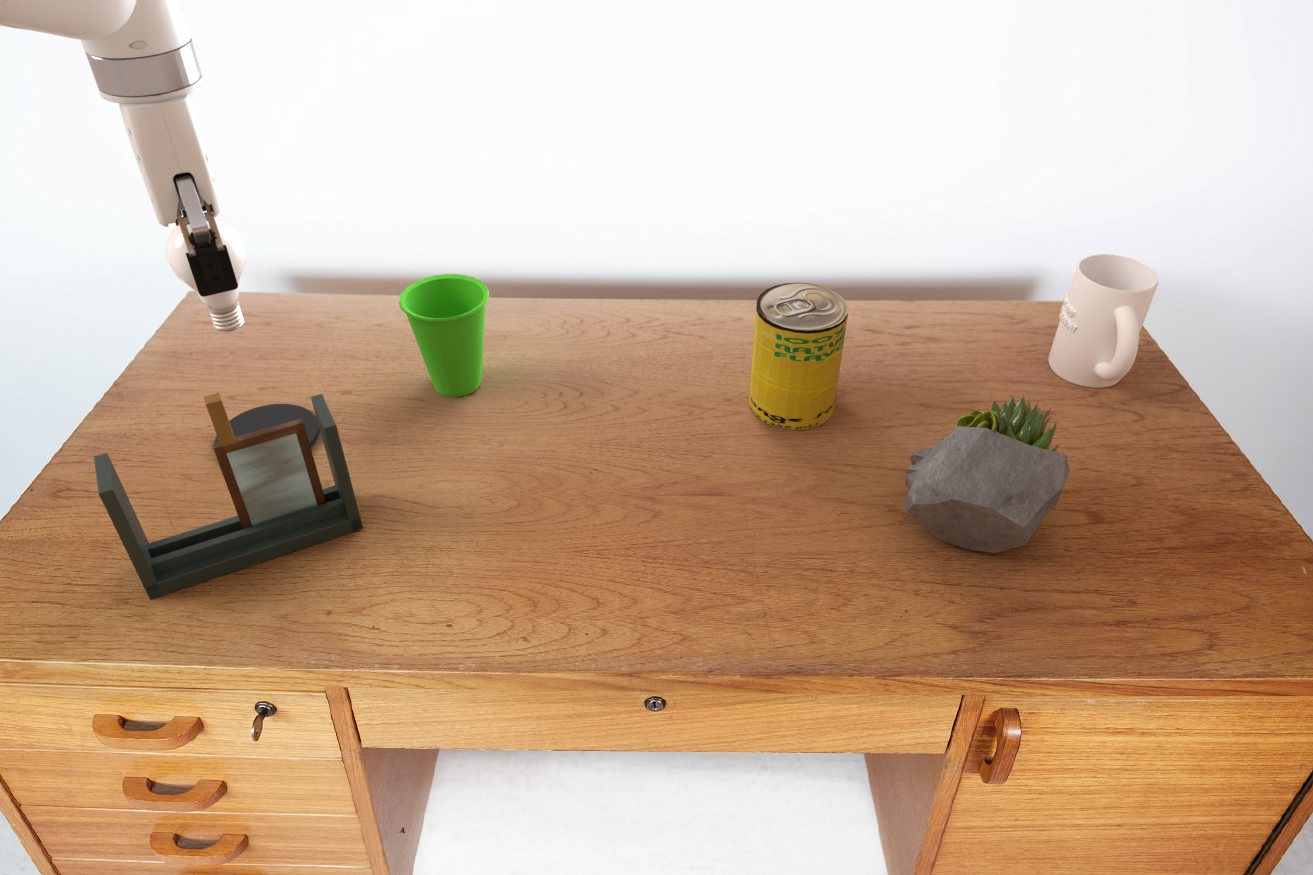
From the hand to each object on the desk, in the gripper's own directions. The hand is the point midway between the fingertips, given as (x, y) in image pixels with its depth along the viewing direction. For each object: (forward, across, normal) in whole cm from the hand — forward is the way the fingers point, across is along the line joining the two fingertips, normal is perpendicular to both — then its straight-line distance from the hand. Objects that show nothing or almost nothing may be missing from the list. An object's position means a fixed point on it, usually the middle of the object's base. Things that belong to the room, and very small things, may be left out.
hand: (212, 271), depth 86 cm
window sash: (+17, +15, -1) cm, 23 cm away
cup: (+19, 0, +20) cm, 28 cm away
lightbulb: (+6, 0, 0) cm, 6 cm away
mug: (+19, +32, +82) cm, 90 cm away
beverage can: (+19, +20, +50) cm, 57 cm away
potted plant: (+19, +43, +55) cm, 72 cm away
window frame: (+19, +15, -4) cm, 25 cm away
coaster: (+19, 0, 0) cm, 19 cm away
